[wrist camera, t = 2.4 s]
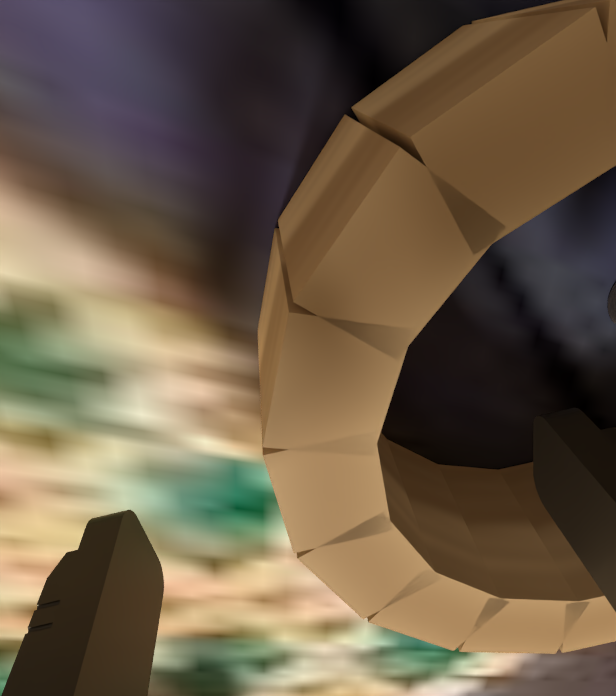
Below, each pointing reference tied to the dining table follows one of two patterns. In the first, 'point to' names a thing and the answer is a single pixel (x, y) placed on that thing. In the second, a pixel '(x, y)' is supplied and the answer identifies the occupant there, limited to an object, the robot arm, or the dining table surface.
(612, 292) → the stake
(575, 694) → the dining table surface
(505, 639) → the wooden ring
